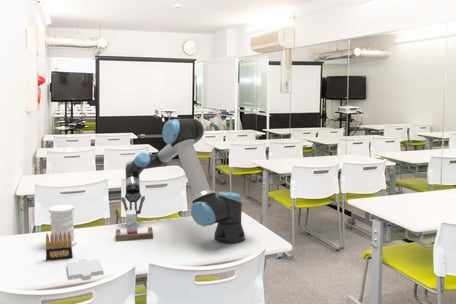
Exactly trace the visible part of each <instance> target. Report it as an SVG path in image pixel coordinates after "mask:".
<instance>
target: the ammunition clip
mask: <svg viewBox="0 0 456 304" xmlns="http://www.w3.org/2000/svg"><path fill="white" fill-rule="evenodd" d="M45 235H46V236H45V250H46V251H45V260H46V262H48V261H47V260H51V261H57V260H59V261H60V259H61V260H70V258H71V259H73V257H74V256H73V255H74V254H73V246H72V242H71V235H70V232H68V246H67V238H66V233H65V232H64V235H63V241H62V235H61V232H60V233H59V243H58V236H57V233H55V242H54V239H53V234H52V232H51V233H50V236H49V233H46V234H45ZM54 244H55V247H54Z"/></svg>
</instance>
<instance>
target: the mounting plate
mask: <svg viewBox="0 0 456 304" xmlns="http://www.w3.org/2000/svg"><path fill="white" fill-rule="evenodd" d="M66 269H67V275H68V280H69V279H70V280H73V279H72V278H76V279H78V278H77V277H83V278H82V280H84V281H86V280H91V278H92V277H94V276H93V275H95V276H99V275H98V274H101V275H104V268H103V265H102V263H101V260H100V258H96V259H89V260H88V259H86V258H81V259H79V260H78V261H76V262H69V263H66Z"/></svg>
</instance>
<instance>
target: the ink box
mask: <svg viewBox="0 0 456 304" xmlns="http://www.w3.org/2000/svg"><path fill="white" fill-rule="evenodd" d="M125 218H126V221H125V222H126V233H127V234H138V217H137V218H136V210H135V209H132V210H130V209H128V210H126V211H125Z"/></svg>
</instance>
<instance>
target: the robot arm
mask: <svg viewBox="0 0 456 304" xmlns="http://www.w3.org/2000/svg"><path fill="white" fill-rule="evenodd" d="M204 128H205V127H204V125H203V123H202V122H201V121H200V120H198V119H196V118H192V117H191V118H179V119H178V118H175V119H169V120H167V121H165V122H164V125H163V128H162V131H161V133H162V134H161V135H162V139H163V141H164V143H166V144H167V145H165V146H164V147H163V148H162V149H161V150H159V151H157V153H155V154H154V153H152V154H148V153H146V152H140V153H138V154H137V155H136V156H135V157H134V159H133V160H130V161H128V162H126V163H125V169H124V170H125V195H124V196H122V197H120V201H121V202H122V204H123V207H124V211H125V212H126V210H133V203H134V210H136V218H137V219H138V215H140V214H141V212H142V208H143V206H144V205H143V203H144V202H145V200H146V197H145V196H144V195H141V188H140V187H141V186H140V185H141V184H140V182H141V181H140V180H141V179H140V174H141V173H142V172H143V171H144V170H148V169H149V170H150V169H154V168H155V169H156V168H163V167H166V166H168V165H169V164H170V162H171V160H172V159H173V158H175V157H176V156H178V158H179V160H180V164H181V166H182V169H183V172H184V175H185V177H186V179H187V180H186V181H187V182H188V185H189V187H190V190H191V193H192V196H193V198H192V201H191V202H192V205H191V207H190V215H191V217H192V219H193V221H194V222H195V223H196V224H197V225H199V226H202V227H207V226H212V225H214V224H217V225H216V228H215V231H214V238H213V239H214V240H215V241H216V242H218V243H221V244H238V243H242V242H243V241H245V240H246V239H245V238H246V236H245V235H246V234H245V231H244V228H243V224H242V213H243V212H242V207H243V205H242V203H243V202H242V201H243V200H242V196H241V195H240V194H239V193H238V192H237V193H236V192H230V191H219V192H218V193H217V194H216V192H215V191H213V190H212V189H211V188H210V185H209V182H208V180H207V177H206V174H205V172H204V170H203V166H202V164H201V161H200V159H199V156H198V155H197V154H198V153H197V151H196V149H195V146H194V145H195V144H196V143H197V142H199V141H200V140H201V139H202V138H203V136H204V133H205V129H204ZM139 200H140V201H139ZM126 201H128V202H129V208H128V206H127V202H126ZM138 201H139V207H138V203H137V202H138Z"/></svg>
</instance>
